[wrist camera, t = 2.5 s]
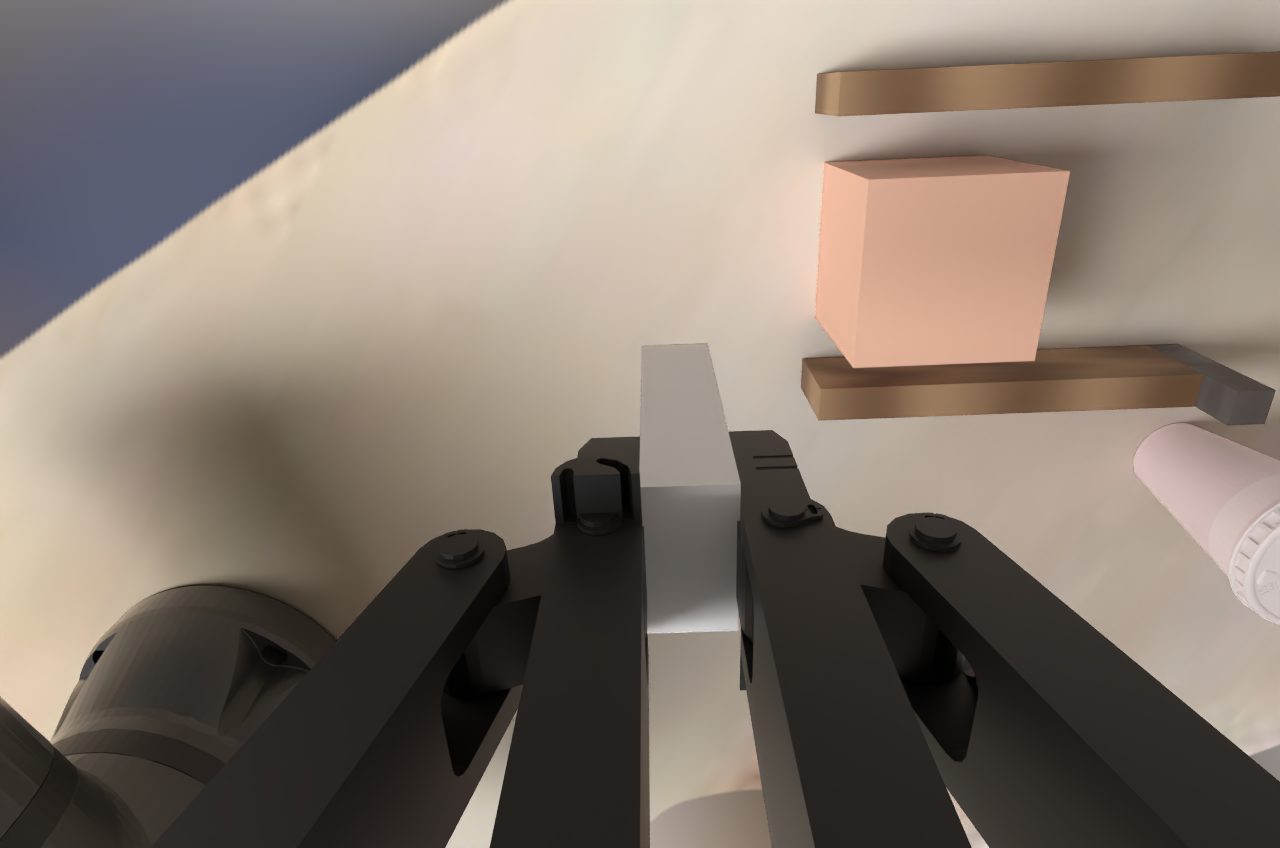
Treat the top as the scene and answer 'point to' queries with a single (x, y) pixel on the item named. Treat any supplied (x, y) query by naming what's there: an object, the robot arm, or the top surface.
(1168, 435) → the smoothie
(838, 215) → the block
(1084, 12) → the top surface
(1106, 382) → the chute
